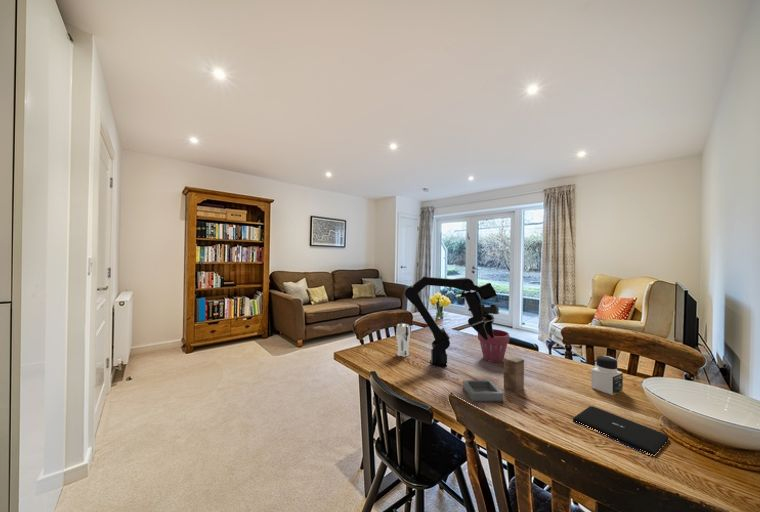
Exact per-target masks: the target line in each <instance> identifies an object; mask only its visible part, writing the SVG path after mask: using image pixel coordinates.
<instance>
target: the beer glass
mask: <svg viewBox="0 0 760 512" xmlns="http://www.w3.org/2000/svg"><path fill="white" fill-rule="evenodd" d="M395 334H396V335H395V336H396V337H395V338H396V342H397V343H396V344H397V354H396V355H397V356H398V357H400V356H402V357H401V358H405V356H407V357H409V356H410V350H409V345H410V340H411V327H410V324H408V323H398V324H396V332H395Z"/></svg>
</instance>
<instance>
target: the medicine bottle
mask: <svg viewBox="0 0 760 512" xmlns="http://www.w3.org/2000/svg"><path fill="white" fill-rule="evenodd" d="M623 377H624V374H623V372H622V371H619V370H618V360H617V359H616V358H614V357H611V356H609V355H607V356H606V355H599V356H597V357H596V367H594V368H591V369H590V388H592V389H594V390H597V391H600V392H602V393H605V394H607V395H611V396H614V395H617V394H619V393H621V392H623V390H624V389H623V386H624V384H623V381H624V379H623Z"/></svg>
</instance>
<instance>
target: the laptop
mask: <svg viewBox="0 0 760 512" xmlns="http://www.w3.org/2000/svg"><path fill="white" fill-rule="evenodd" d="M572 420H573V421H572V423H573V422H575V423H574V424H576V423H578V424H580V425H583V424H584V425H583V426H585V425H587V426H589V427H588V428H590V427H591V429H592V428H593V430H594V429H596V430H598V432H599V431H600V433H601V432H602V433H601V434H603V433H605V434H603V435H606V434H607V435H606V436H607V437H609V438H611V439H614V440H616V441H619V442H620V443H622V444H624V445H623V446H625V445H626V446H625V447H627V446H629V447H631V448H634V449H636V450H638V451H641V452H644V451H646V452H644V453H647V452H648V454H649V453H650V455H651V454H653V455H655V454H656V453H657V452H658V451H659V449H660V448H661V447H662V446H663V445H664V444H665V442H667V441H668V442H669V440H668V439H669V436H668V435H667V434H666V433H663V432H661V431H659V430H656V429H653V428H651V427H648V426H646V425H644V424H641V423H638V422H636V421H633V420H631V419H628V418H624V417H622V416H619V415H617V414H615V413H612V412H609V411H606V410H604V409H602V408H599V407H596V406H591V405H590V406H588V407H587V408H586V409H584V410H583V411H581V412H579V413H578V414H577V415H575V416H574V417H573V418H572ZM576 421H577V422H576ZM579 422H580V423H579ZM581 423H582V424H581ZM578 424H577V425H578ZM580 425H579V426H580ZM587 426H585V427H587ZM608 435H609V436H608ZM607 437H606V438H607ZM609 438H608V439H609ZM611 439H610V440H611ZM617 439H618V440H617ZM614 440H613V441H614ZM616 441H615V442H616ZM668 442H667V443H668ZM620 443H619V444H620ZM622 444H621V445H622ZM665 445H666V444H665ZM665 445H664V446H665ZM629 447H628V448H629ZM631 448H630V449H631ZM634 449H633V450H634ZM640 449H641V450H640ZM636 450H635V451H636ZM642 450H643V451H642ZM638 451H637V452H638ZM659 452H660V451H659Z"/></svg>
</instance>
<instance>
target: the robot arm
mask: <svg viewBox="0 0 760 512" xmlns="http://www.w3.org/2000/svg"><path fill="white" fill-rule="evenodd" d="M427 286H433V287H444V288H445V287H446V288H453V289H456V290H460V291H461V292H460V293H461V294H460V297H459V298H460V299H461V300H462V299H464V300H465V301H466V304H467V306H468V309H467V310H468V312H470V313H471V317H468V320H467V323H468V326H470V327H471V328H473V329H474V330H475V332H477V334H478V333H479V334H480V335H481V336H482V337H483V338H484V339H485V340H488V336H487V333H488V335H489V336H490V337H491V338H494V333H493V329H494V328H493V324H494V322H495V317H494V315H499V314H500V313H499V311H500V309H499V306H497V305H496V304H490V306H486V305H485V304H484V303H482V302H481V300H483V301H484V302H485V301H488V300H491V299H493V298H496V297H498V296H497V291H496V290H495V288H494V287H493V286H492V283H491V282H487V283H485V284H483V285H480V286H479V285H477V284H475V283H474V281H473V280H472V279H470V277H458V278H457V277H456V278H443V277H432V276H426V275H424V276H422V277H421V278H420V279H419V280H418V281H417V282H415V283H413V285H408V286H407V287H406V289H405V291H404V296H405V298H406V299H407V300H408V301H409V302H410V303H411V304H412V305H413V306H414V307H415V308H416V310H417V311H418V313H419V314H420V316H421V317H422V319H423V320H424V322H425V324H426V325H427V326H428V328H429V330H430V331H431V333H432V336H433V338H434V340H433V341H432V342H431V348H430V360H429V361H430V364H431V365H432V367H447V366H448V354H447V351H446V350H447V349H448V348H449V347H450V345H451V341H450V335H449V334H448V333H447V332H446V330H445V328H444V327H443V328H441V327H439V326H438V324H437V322H436V321H435V319H434V318H433V316H432V315H431V313H430V312H429V310H428V309H427V307H426V306H425V304H424V302H423V301H422V298H421V296H420V292H421V291H423V289H424V288H425V287H427ZM462 291H463V292H462ZM472 291H473V292H472ZM486 332H487V333H486Z"/></svg>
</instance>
